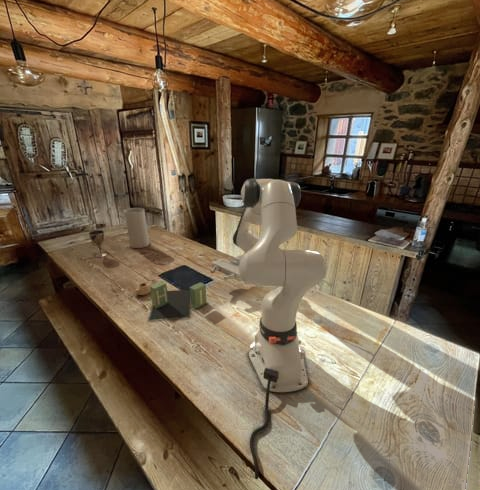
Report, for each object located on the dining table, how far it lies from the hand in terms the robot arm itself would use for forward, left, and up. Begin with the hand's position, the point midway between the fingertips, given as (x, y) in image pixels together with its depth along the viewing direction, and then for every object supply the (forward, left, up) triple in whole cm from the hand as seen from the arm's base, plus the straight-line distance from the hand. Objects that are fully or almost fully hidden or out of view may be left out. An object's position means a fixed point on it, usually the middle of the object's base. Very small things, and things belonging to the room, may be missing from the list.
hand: (218, 275), depth 123 cm
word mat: (-6, +21, -11) cm, 25 cm away
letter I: (-8, +9, -11) cm, 16 cm away
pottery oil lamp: (+6, +34, -11) cm, 36 cm away
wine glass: (+56, +72, -11) cm, 92 cm away
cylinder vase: (+70, +51, -11) cm, 88 cm away
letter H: (-6, +26, -10) cm, 29 cm away
